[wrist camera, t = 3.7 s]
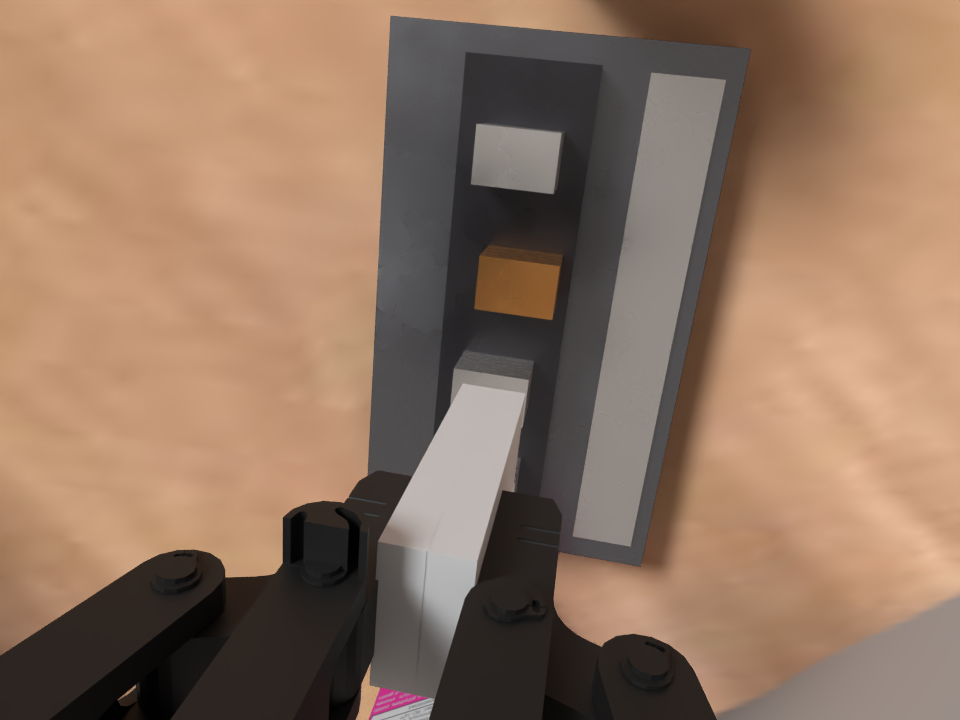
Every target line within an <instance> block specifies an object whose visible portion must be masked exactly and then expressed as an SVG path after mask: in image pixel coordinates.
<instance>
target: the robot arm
mask: <svg viewBox="0 0 960 720" xmlns="http://www.w3.org/2000/svg"><path fill="white" fill-rule="evenodd" d="M525 395H526V393H520V392H513V391H507V390H501V389H494V388H488V387H481V386H475V385H469V384H462V386H461V388H460V390H459V391H458V393H457V395H456V397H455V399H454V401H453V403H452V404H451V406H450V408H449V410H448V412H447V414H446V416H445V417H444V419H443V421H442V423H441V425H440V427H439V429H438V430H437V432H436V434H435V436H434V438H433V440H432V442H431V444H430V445H429V447H428V449H427V451H426V453H425V455H424V457H423V458H422V460H421V462H420V464H419V466H418V468H417V470H416V471H415V473H414V475H413V476H408V475H402V474H397V473H391V472H385V471H379V470H377V471H375V472H374V473H372V474H370V475H368V476H367V477H365V478H363V479H362V480H360V481H359V482H358V483H357V485H356V486H355V488H354V489H353V491H352V492H351V494H350V495H349V498H347V500H346V501H345V503H341V502H330V501H321V502H314V503H307V504H305V505H302V506H300V507H297V508H295V509H293V510H291V511H290V512H289V513H288V514H286V515H285V516H284V517H283V564H282V565H281V567H280V568H279V569H278V571H277V572H276V573H275V574H272V575H267V576H257V577H230V578H225V568H224V566H223V564H222V562H221V560H220V559H218V558H217V557H215V556H214V555H212V554H211V553H207V552H203V551H198V550H176V551H172V552H168V553H164V554H160V555H157V556H155V557H153V558H151V559H149V560H147V561H145V562H143V563H142V564H140V565H139V566H137V567H135V568H134V569H132V570H131V571H129V572H128V573H126V574H125V575H123V576H122V577H120V578H119V579H117V580H116V581H114V582H113V583H111V584H109V585H108V586H106V587H105V588H103V589H102V590H100V591H99V592H97V593H96V594H94V595H93V596H91V597H90V598H88V599H87V600H85V601H83V602H82V603H80V604H79V605H77V606H76V607H74V608H73V609H71V610H70V611H68V612H67V613H65V614H64V615H62V616H61V617H59V618H57V619H56V620H54V621H53V622H51V623H50V624H48V625H47V626H45V627H44V628H42V629H41V630H39V631H38V632H36V633H34V634H33V635H31V636H30V637H28V638H27V639H25V640H24V641H22V642H21V643H19V644H18V645H16V646H15V647H13V648H12V649H10V650H8V651H7V652H5V653H4V654H2V655H1V656H0V720H356V717H357V715H358V712H359V707H360V700H361V683H362V681H363V679H364V676H365V674H366V672H367V669H368V667H369V665H370V663H371V668H370V685H371V686H376V687H380V688H385V689H390V690H394V691H399V692H404V693H408V694H413V695H418V696H422V697H427V698H431V699H435V700H434V704H433V707H432V710H431V714H430V717H429V720H717V719H716V717H715V715H714V713H713V710H712V708H711V706H710V704H709V702H708V700H707V697H706V695H705V693H704V691H703V689H702V687H701V684H700V682H699V680H698V678H697V676H696V674H695V672H694V670H693V668H692V667H691V666H690V664H689V663H688V661H687V660H686V658H685V657H684V656H683V655H682V654H680V653H679V652H678V651H676V650H675V649H674V648H673V647H671V646H670V645H668V644H666V643H664V642H661V641H659V640H657V639H655V638H652V637H648V636H642V635H636V634H629V635H621V636H616V637H614V638H612V639H611V640H609V641H607V642H605V643H604V645H603V646H602V647H600V646H598V645H596V644H594V643H592V642H589V641H587V640H586V639H584V638H582V637H580V636H578V635H577V634H575V633H574V632H573V631H571V630H570V629H569V628H568V627H567V626H565V624H564V623H563V622H562V621H561V619H560V618H559V617H558V615H557V613H556V610H555V608H554V600H553V597H554V588H555V578H556V569H557V560H558V551H559V541H560V532H561V523H562V514H561V512H560V510H559V508H558V507H557V505H556V503H555V501H554V500H553V499H550V498H544V497H538V496H533V495H527V494H521V493H516V492H513V486H514V478H515V471H516V463H517V456H518V448H519V441H520V433H521V425H522V418H523V410H524V403H525ZM135 685H136V688H135V689H134V690H133V691H132V692H130V693H129V694H128V695H126V696H125V697H123V698H121V699H120V700H118V699H119V698H120V697H121V696H122V695H124V694H125V693H126V692H127V691H128V690H130V689H131V688H132V687H133V686H135Z"/></svg>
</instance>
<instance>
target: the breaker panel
mask: <svg viewBox="0 0 960 720" xmlns="http://www.w3.org/2000/svg"><path fill="white" fill-rule="evenodd" d="M750 51H751V49H748V48H737V47H726V46H715V45H704V44H693V43H682V42H671V41H661V40H650V39H639V38H628V37H617V36H606V35H595V34H584V33H573V32H562V31H551V30H540V29H530V28H519V27H508V26H497V25H486V24H475V23H464V22H453V21H442V20H431V19H420V18H409V17H399V16H391V19H390V39H389V59H388V79H387V99H386V119H385V139H384V159H383V179H382V199H381V219H380V239H379V259H378V279H377V299H376V319H375V339H374V359H373V379H372V399H371V419H370V439H369V459H368V475H370V474H372V473H374V472H375V471H377V470H379V471H385V472H391V473H397V474H402V475H408V476H413V475H414V473H415V471H416V470H417V468H418V466H419V464H420V462H421V460H422V458H423V457H424V455H425V453H426V451H427V449H428V447H429V445H430V444H431V442H432V440H433V438H434V436H435V434H436V432H437V430H438V429H439V427H440V425H441V423H442V421H443V419H444V417H445V416H446V414H447V412H448V410H449V408H450V406H451V404H452V403H453V401H454V399H455V397H456V395H457V393H458V391H459V390H460V388H461V386H462V384H469V385H475V386H481V387H488V388H494V389H501V390H507V391H513V392H520V393H526V395H525V403H524V410H523V418H522V425H521V433H520V441H519V448H518V456H517V463H516V471H515V478H514V486H513V492H516V493H521V494H527V495H533V496H538V497H544V498H550V499H553V500H554V501H555V503H556V505H557V507H558V508H559V510H560V512H561V514H562V523H561V532H560V541H559V551H558V552H563V553H568V554H574V555H579V556H585V557H590V558H596V559H601V560H607V561H612V562H618V563H623V564H629V565H634V566H640V567H641V562H642V558H643V553H644V548H645V544H646V539H647V534H648V529H649V525H650V520H651V515H652V511H653V506H654V501H655V497H656V492H657V487H658V483H659V478H660V473H661V468H662V464H663V459H664V454H665V450H666V445H667V440H668V436H669V431H670V426H671V422H672V417H673V412H674V408H675V403H676V398H677V393H678V389H679V384H680V379H681V375H682V370H683V365H684V361H685V356H686V351H687V347H688V342H689V337H690V332H691V328H692V323H693V318H694V314H695V309H696V304H697V300H698V295H699V290H700V286H701V281H702V276H703V271H704V267H705V262H706V257H707V253H708V248H709V243H710V239H711V234H712V229H713V225H714V220H715V215H716V210H717V206H718V201H719V196H720V192H721V187H722V182H723V178H724V173H725V168H726V164H727V159H728V154H729V149H730V145H731V140H732V135H733V131H734V126H735V121H736V117H737V112H738V107H739V103H740V98H741V93H742V88H743V84H744V79H745V74H746V70H747V65H748V60H749V56H750Z"/></svg>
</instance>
